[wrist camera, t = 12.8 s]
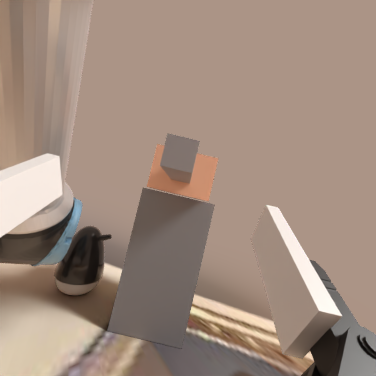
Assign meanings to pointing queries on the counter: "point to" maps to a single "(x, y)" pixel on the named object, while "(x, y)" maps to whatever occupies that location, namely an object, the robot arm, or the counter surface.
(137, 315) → the grey tall block
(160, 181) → the orange and grey block
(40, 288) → the counter surface
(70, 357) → the counter surface
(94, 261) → the pump dispenser
